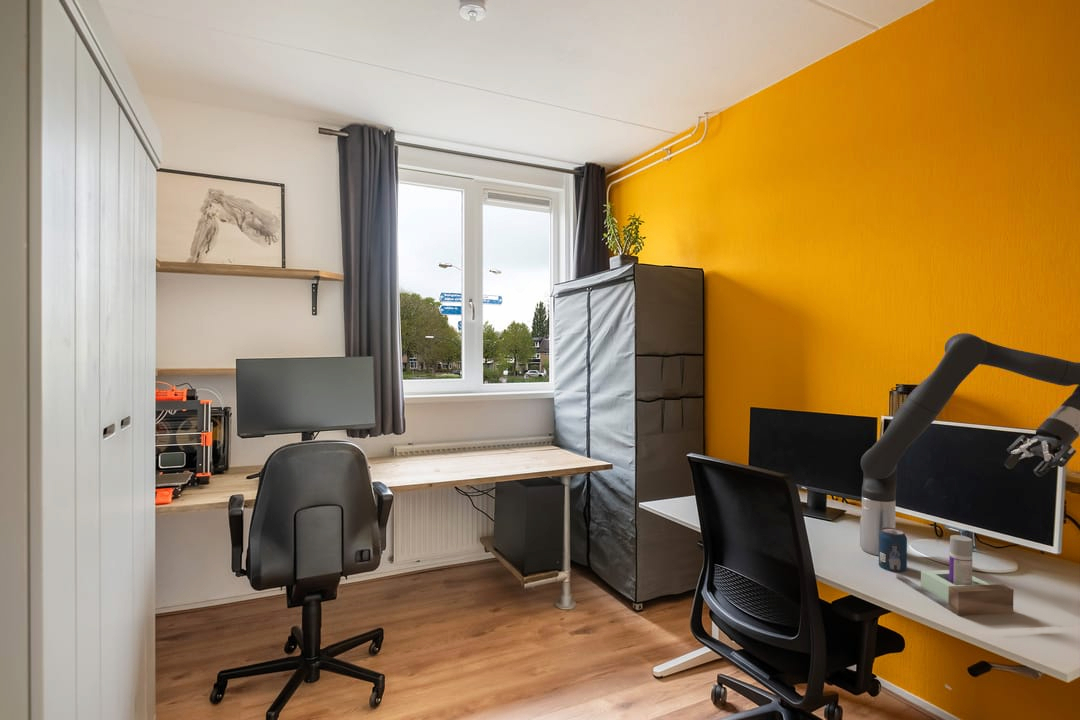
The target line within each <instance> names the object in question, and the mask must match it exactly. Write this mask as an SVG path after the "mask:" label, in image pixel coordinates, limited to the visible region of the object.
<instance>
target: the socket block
mask: <svg viewBox="0 0 1080 720" xmlns="http://www.w3.org/2000/svg"><path fill="white" fill-rule="evenodd" d="M972 585H991V584H990V583H987V582H986V581H984V580H982V579H980V578H977V577H975V576H974V575H972ZM949 586H967V585H954V584H952V583H950V582H949V569H945V570H944V569H943V570H941V569H940V570H937V569H936V570H921V571H920V587H922V588H924V589H925V590H927V591H929V592H930V593H932V594H934V595H935V596H937V597H939V598H940V599H942V600H944V601H946V602H947V603H948V595H949Z"/></svg>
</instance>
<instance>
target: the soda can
mask: <svg viewBox="0 0 1080 720" xmlns="http://www.w3.org/2000/svg"><path fill="white" fill-rule="evenodd" d="M881 530H882V531H881V532H880V534H879V555H878V566H879V568H881V569H882V570H885V571H889V572H893V573H905V572H906V571H907V570H908V561H907V560H908V538H907V536H906V534H905V533H906V532H905V530H902V529H900V528H896V527H895V528H882V529H881Z"/></svg>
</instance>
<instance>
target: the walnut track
mask: <svg viewBox="0 0 1080 720" xmlns="http://www.w3.org/2000/svg"><path fill="white" fill-rule="evenodd" d="M895 576H896V578H895V579H897V580H898V581H901V582H902V583H903V584H904V585H907V586H908V587H910V588H911V589H913V590H914V591H916V592H918V593H920V594H922V595H923V596H925V597H926V598H928V599H930V600H931V601H933V602H935V603H936V604H938V605H940V606H941V607H943V608H944V609H946V610H947V611H950V613H953V614H955V615H956V617H957V616H958V617H965V616H989V615H990V616H991V615H992V616H993V615H1011V614H1012V615H1013V614H1014V596H1015V593H1014V588H1011V587H1009V586H1007V585H1005V584H1004V583H1001V584H998V583H996V584H990V585H967V586H949V595H948V603H947V602H946V601H944V600H942V599H940V598H939V597H937V596H935V595H934V594H932V593H930V592H929V591H927V590H925V589H924V588H922V587H921V585H919V584H917V583H915V582H914V581H912V580H910V579H909V578H907V577H905V576H904V575H901V574H896V575H895Z"/></svg>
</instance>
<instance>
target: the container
mask: <svg viewBox="0 0 1080 720" xmlns="http://www.w3.org/2000/svg"><path fill="white" fill-rule="evenodd" d="M948 554H949V559H948V560H949V562H948V563H949V566H948V570H949V582H950V583H952V584H954V585H972V576H973V539H972V538H971V537H968V536H966V535H961V534H960V535H959V534H953V535H950V537H949V553H948Z"/></svg>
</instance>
